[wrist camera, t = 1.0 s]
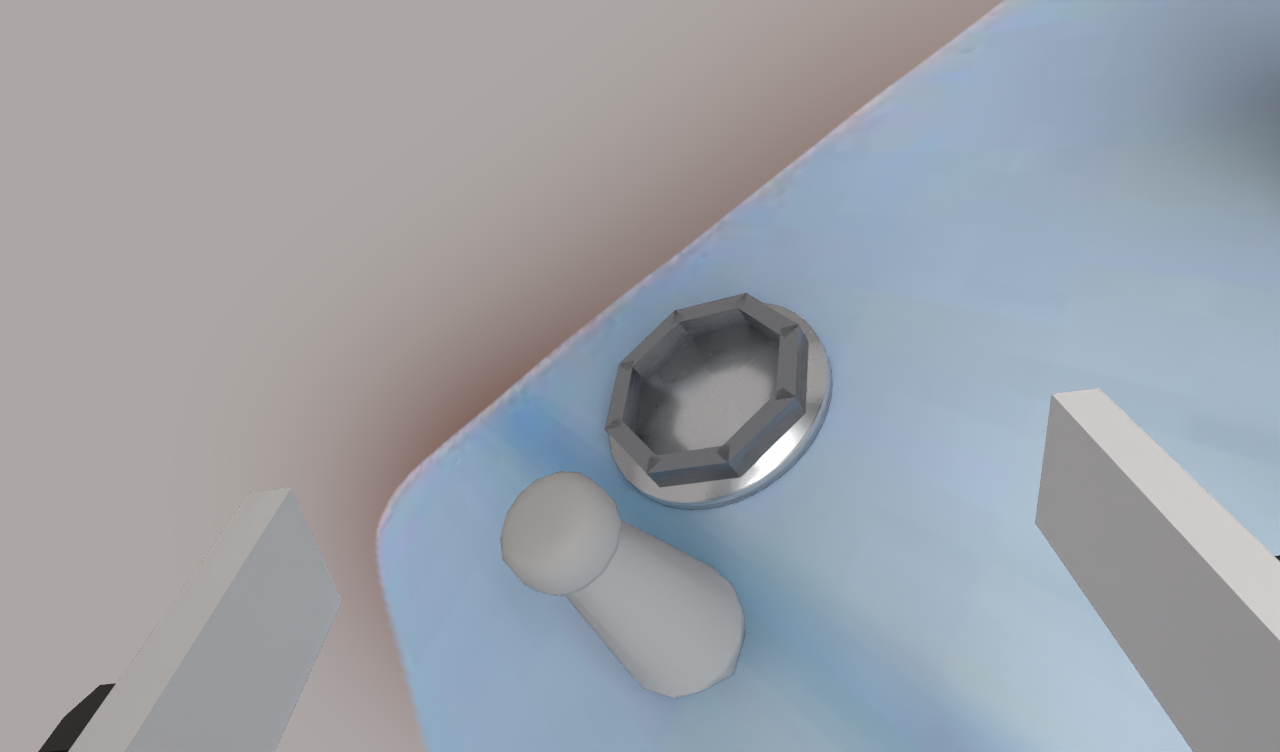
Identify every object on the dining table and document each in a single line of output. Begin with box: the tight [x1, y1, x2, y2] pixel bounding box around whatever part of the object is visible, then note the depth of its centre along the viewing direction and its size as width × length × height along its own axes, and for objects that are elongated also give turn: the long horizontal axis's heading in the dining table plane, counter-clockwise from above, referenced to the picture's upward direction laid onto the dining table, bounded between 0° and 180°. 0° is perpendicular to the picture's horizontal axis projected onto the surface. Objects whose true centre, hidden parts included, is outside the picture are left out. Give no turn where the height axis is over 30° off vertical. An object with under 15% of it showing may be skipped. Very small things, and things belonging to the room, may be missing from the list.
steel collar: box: [605, 293, 832, 510], centre depth 43 cm, size 13×13×2 cm
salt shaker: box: [500, 471, 745, 698], centre depth 31 cm, size 6×6×13 cm
